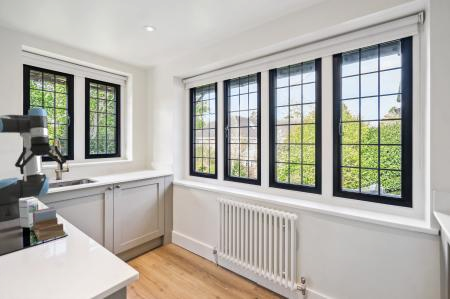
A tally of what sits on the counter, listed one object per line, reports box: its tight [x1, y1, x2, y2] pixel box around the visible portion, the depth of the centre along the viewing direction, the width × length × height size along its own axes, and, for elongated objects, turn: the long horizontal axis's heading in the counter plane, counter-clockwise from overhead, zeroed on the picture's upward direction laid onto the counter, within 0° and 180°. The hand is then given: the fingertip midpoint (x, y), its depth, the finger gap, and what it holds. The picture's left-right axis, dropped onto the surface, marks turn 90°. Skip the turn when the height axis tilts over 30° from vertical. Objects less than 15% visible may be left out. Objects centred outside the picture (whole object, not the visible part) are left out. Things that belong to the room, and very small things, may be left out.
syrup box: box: [19, 197, 39, 228], centre depth 127 cm, size 6×6×14 cm
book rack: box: [31, 207, 66, 242], centre depth 117 cm, size 22×10×10 cm, turn 45°
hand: (43, 178), depth 116 cm, fingers open, 13 cm apart
